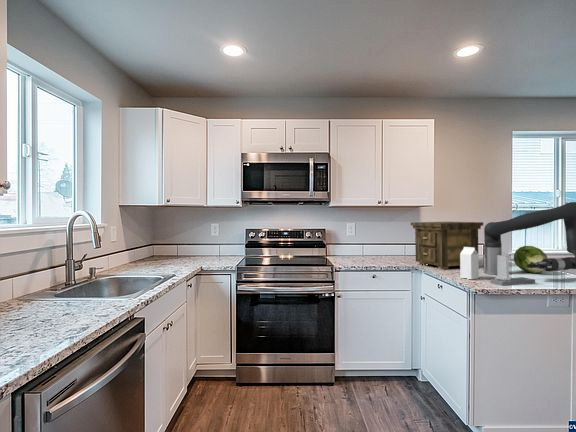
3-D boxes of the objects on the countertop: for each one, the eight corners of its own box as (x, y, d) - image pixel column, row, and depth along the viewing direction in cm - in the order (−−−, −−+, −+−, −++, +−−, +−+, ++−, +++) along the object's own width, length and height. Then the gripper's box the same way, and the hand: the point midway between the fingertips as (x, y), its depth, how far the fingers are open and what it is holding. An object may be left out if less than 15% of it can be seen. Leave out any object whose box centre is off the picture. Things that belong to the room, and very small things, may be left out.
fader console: (502, 285, 184) (502, 281, 184) (490, 282, 192) (490, 279, 192) (535, 283, 189) (535, 279, 189) (522, 280, 197) (522, 276, 197)
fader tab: (504, 280, 186) (504, 256, 186) (495, 278, 192) (495, 255, 192) (510, 280, 187) (510, 256, 187) (501, 278, 193) (501, 254, 192)
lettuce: (524, 275, 213) (532, 249, 210) (506, 264, 236) (512, 240, 233) (553, 281, 211) (562, 255, 208) (532, 269, 234) (540, 245, 231)
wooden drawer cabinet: (483, 268, 242) (483, 222, 242) (441, 271, 233) (440, 223, 233) (449, 261, 276) (448, 221, 276) (411, 264, 267) (410, 222, 267)
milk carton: (471, 280, 200) (470, 247, 200) (460, 278, 206) (459, 247, 206) (478, 279, 203) (478, 247, 203) (467, 277, 210) (467, 246, 210)
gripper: (542, 256, 203) (518, 258, 199) (564, 259, 190) (539, 260, 186) (542, 269, 203) (518, 270, 199) (564, 272, 190) (539, 274, 186)
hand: (528, 266), depth 193 cm, fingers closed
